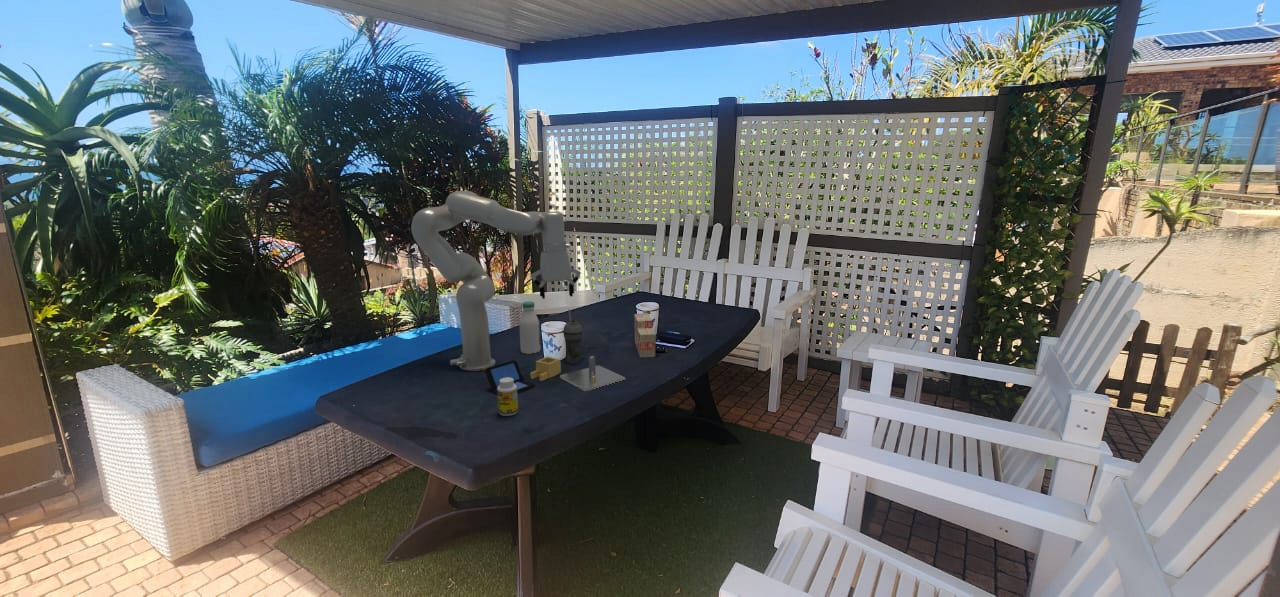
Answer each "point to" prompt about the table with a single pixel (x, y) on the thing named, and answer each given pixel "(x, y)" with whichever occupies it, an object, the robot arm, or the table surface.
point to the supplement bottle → (507, 397)
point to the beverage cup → (573, 340)
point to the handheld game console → (506, 371)
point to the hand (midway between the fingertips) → (557, 296)
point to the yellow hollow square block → (546, 368)
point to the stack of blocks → (644, 335)
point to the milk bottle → (529, 329)
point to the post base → (584, 377)
